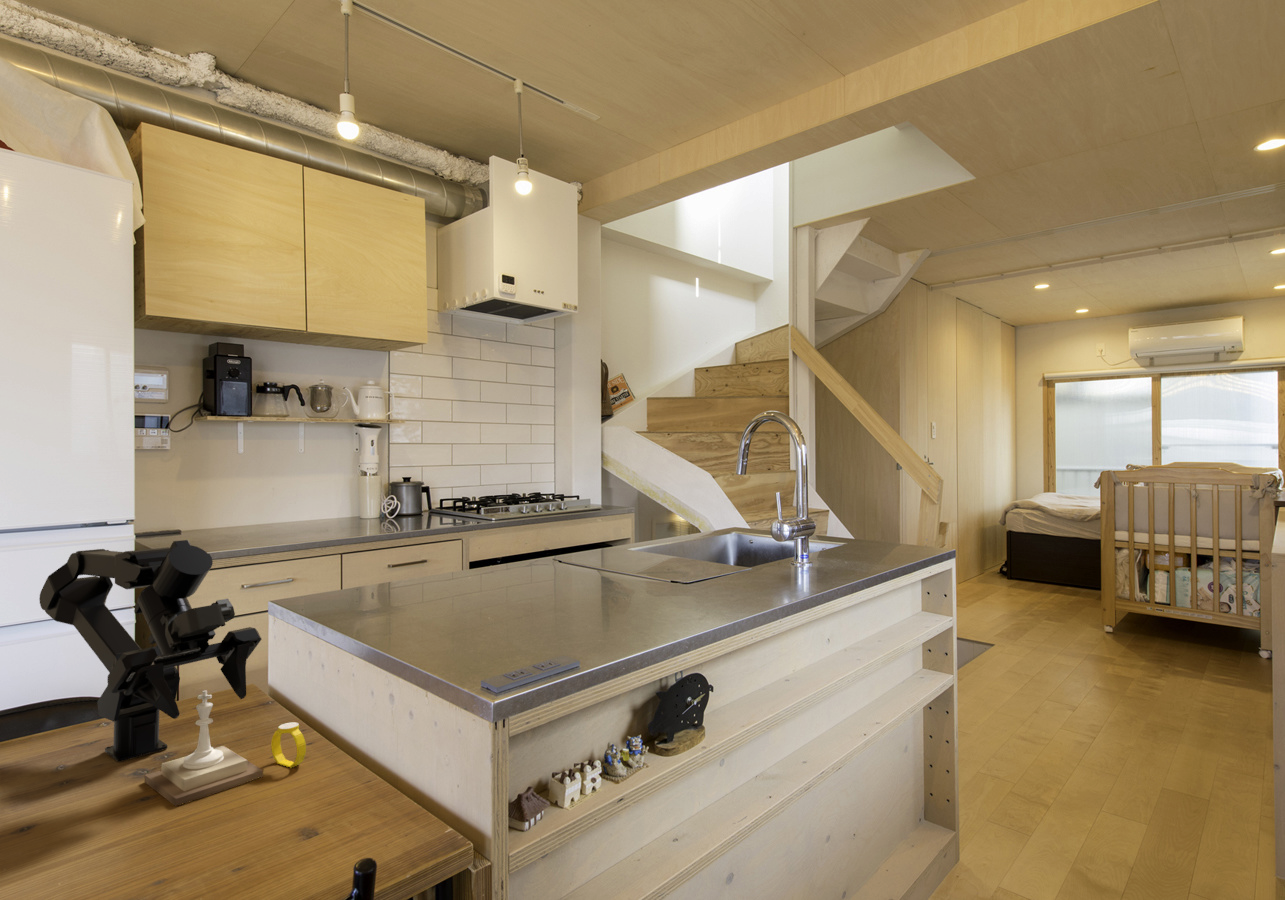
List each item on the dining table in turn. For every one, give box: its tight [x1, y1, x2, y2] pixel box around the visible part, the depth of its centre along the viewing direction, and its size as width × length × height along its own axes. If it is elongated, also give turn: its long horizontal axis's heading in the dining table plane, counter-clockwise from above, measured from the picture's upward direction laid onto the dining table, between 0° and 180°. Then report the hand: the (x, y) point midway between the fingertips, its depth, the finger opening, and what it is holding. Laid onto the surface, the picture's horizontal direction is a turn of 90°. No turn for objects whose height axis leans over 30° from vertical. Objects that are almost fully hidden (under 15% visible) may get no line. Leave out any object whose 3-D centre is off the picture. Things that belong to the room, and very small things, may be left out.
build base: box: [144, 745, 264, 807], centre depth 100 cm, size 11×11×2 cm
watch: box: [270, 721, 307, 769], centre depth 105 cm, size 6×3×6 cm, turn 64°
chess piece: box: [183, 690, 224, 769], centre depth 100 cm, size 5×5×10 cm
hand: (211, 706), depth 99 cm, fingers open, 9 cm apart
